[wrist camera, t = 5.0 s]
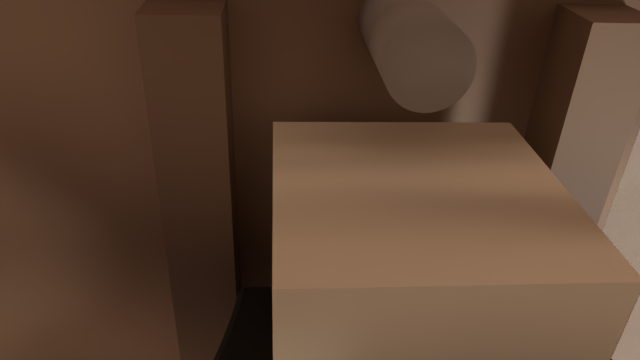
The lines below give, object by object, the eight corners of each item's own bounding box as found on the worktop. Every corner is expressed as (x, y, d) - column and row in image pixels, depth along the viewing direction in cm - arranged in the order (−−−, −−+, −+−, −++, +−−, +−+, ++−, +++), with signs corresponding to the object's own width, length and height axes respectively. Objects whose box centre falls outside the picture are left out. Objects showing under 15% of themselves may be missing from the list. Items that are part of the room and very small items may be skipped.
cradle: (516, 397, 16) (571, 522, 13) (-217, 425, 15) (-343, 573, 12) (660, -36, 10) (822, 14, 7) (-577, -70, 8) (-1038, -24, 6)
